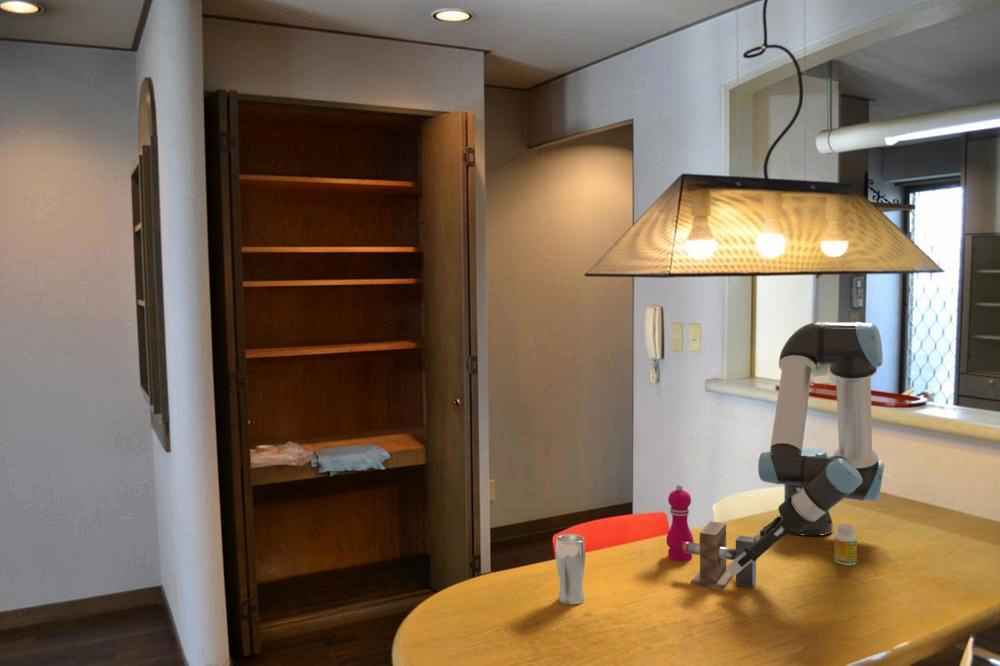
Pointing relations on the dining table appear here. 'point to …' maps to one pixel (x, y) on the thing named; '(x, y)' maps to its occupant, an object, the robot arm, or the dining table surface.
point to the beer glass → (570, 567)
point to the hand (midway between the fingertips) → (736, 561)
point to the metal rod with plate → (731, 557)
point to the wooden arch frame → (712, 558)
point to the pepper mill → (679, 524)
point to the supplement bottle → (845, 545)
